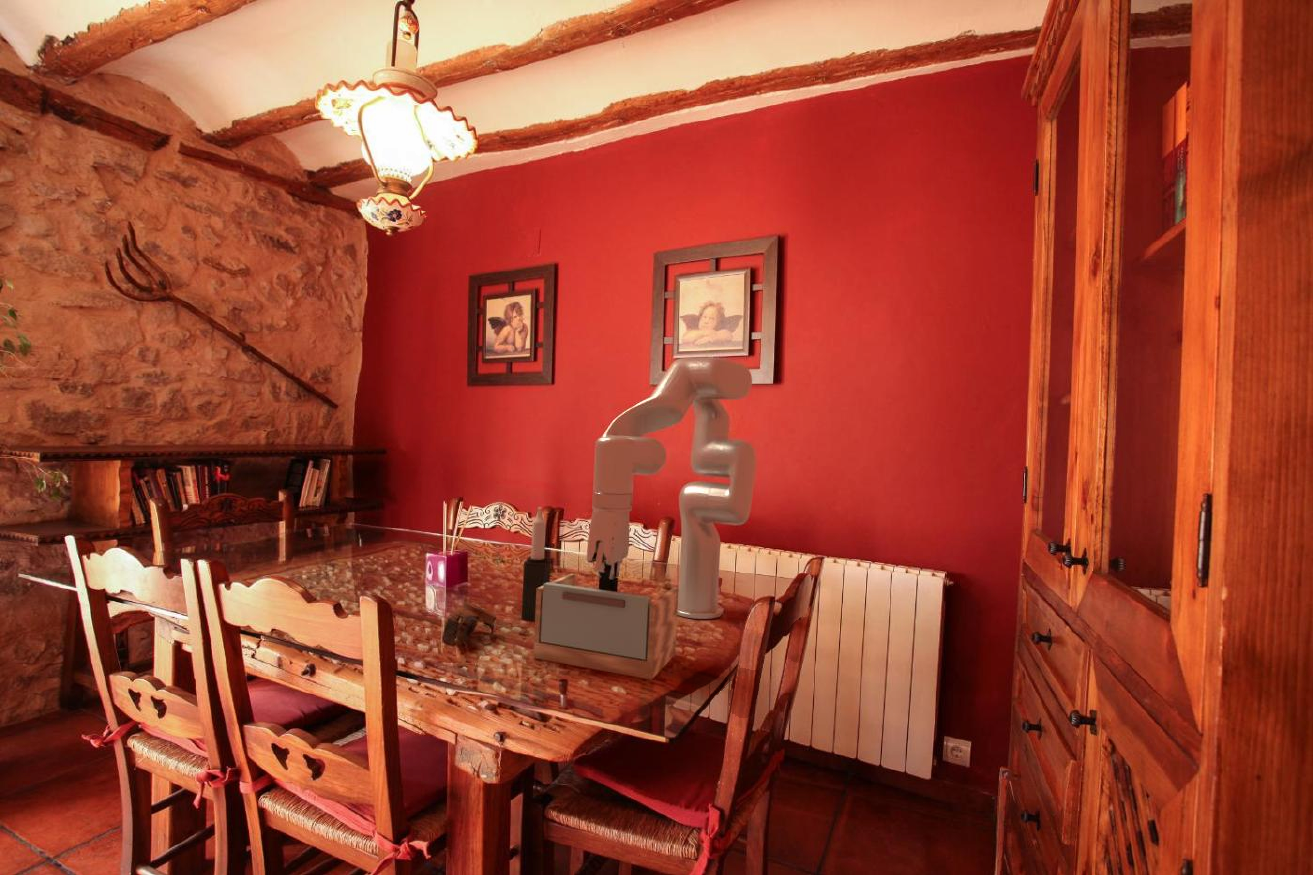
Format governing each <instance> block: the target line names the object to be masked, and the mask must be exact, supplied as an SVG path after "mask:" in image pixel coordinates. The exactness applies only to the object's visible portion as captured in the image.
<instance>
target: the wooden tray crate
mask: <svg viewBox="0 0 1313 875" xmlns="http://www.w3.org/2000/svg"><path fill="white" fill-rule="evenodd" d="M575 578H576V574H575V573H569V574H566V575H564V576H562V577H559V578H557V579H555V580H553V581H550V583H556V584H564V585H571V586H575ZM678 595H679V587H675V586H673V587H672V588H670V589H669V590H668V591H666V592H665V593H663V595H661V596H660V597H658V598H657V599H655V600H654V601H653V602H651V604H650V615H649V635H648V656H647V658H646V659H639V658H633V657H627V656H621V655H616V654H610V653H604V652H598V651H593V650H587V649H581V648H575V647H569V646H564V645H558V644H552V643H546V642H541V626H542V604H543V586H541V587H539V588H537V589H536V610H535V621H534V634H533V636H534V638H533V652H532V654H533V656H532V657H533V659H536V660H542V661H547V662H548V661H549V662H551V663H552V662H554V663H559V664H563V665H564V664H565V665H568V666H575V667H580V668H584V669H585V668H586V669H590V670H597V671H603V672H608V673H613V674H619V675H624V676H630V677H636V678H640V679H645V680H646V679H647V680H653V679H654V678H655V677H656V676H657V675H658V674H659V673H660V671H661V670H663V668H665V666H666V665H667V664H668V663H669V662H670V661H671V659H672V658H673V657H674V656H675V655H676V650H677V649H676V648H677V628H678V615H677V612H678Z"/></svg>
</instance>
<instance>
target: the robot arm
mask: <svg viewBox="0 0 1313 875" xmlns="http://www.w3.org/2000/svg"><path fill="white" fill-rule="evenodd" d="M658 382H659V383H658V384H657V385H656V387H655V389H653V392H651V394H650V396H649V397H648V398H646V399H644V400H642V401H640V402H639V403H637V404H636V405H634V406H632V407H630V408H628V409H627V410H625V411H624V412H622V413H621V414H619V415H618V416H616V418H615V419H613V421H612V422H610V425H608V427H607V429H606V430H605V432H604V433H603V435H602V436H601V437H599V438H597V440H596V441H595V446H594V463H593V464H594V466H593V485H592V490H593V491H592V502H591V503H592V504H591V505H592V506H591V509H592V513H591V517H590V523H589V528H588V529H589V530H588V538H587V550H586V561H587V562H588V563H589V564H592V563H595V564H594V572H597V574H598V589H600V590H607V591H614V592H618V590H619V589H618V586H619V585H618V584H619V578H618V577H620V576H619V575H620V568H621V564H622V563H623V561H624V559H625V558H627V556H628V555H629V549H630V548H629V547H630V512H632V510H633V497H634V496H633V492H634V489H633V488H634V475H638V476H639V475H640V476H651V475H656V474H657V473H659V472H660V471H661V470H662V469H663V468H664V466H665V464H666V462H667V450H666V448H665V446H664V444H663V443H661V441H660V440H658V439H656V438H655V437H653V438H652V437H648V436H646V435H648V434H651V433H654V432H659V431H662V430H666V429H668V428H670V427H674V426H676V425H677V424H679V423H680V422H681V421H682V420H683V419H684V417H685V416H686V414H687V412H688V410H689V408H690V407H691V406H692V409H693V412H694V419H695V420H694V428H693V429H694V432H693V437H692V447H691V454H690V467H691V470H692V472H694V474H697V475H698V476H699V475H700V476H703V477H704V476H705V477H710V478H711V477H713V478H722V479H729V480H730V483H720V482H714V481H713V482H712V481H704V480H703V481H700V480H698V481H691V482H688V483H686V484H685V485H683V487H682V488H681V489H680V492H679V495H678V506H679V508H678V509H679V514H680V524H681V530H680V531H681V532H680V533H681V536H680V538H681V539H680V557H679V558H680V559H679V579H678V588H679V592H678V612H677V616H680V617H683V618H689V619H695V620H710V619H716V618H719V617H721V615H724V610H725V609H724V607H722V606H721V604H718V602H719V600H718V599H719V581H720V580H719V578H720V558H721V537H720V534H719V532H718V530H717V528H716V526H715V523H716V524H722V525H730V526H741V525H743V524H745V523H747V521H748V520H749V517H750V513H751V510H752V503H753V494H754V486H755V476H756V468H757V466H756V465H757V454H756V451H755V448H754V446H753V444H752V443H751V442H749V441H748V440H746V439H742V438H741V439H740V438H730V437H729V435H730V423H731V420H730V415H729V413H728V410H727V409H726V408H725V406H724V404H722V402H721V400H729V401H730V400H731V401H732V400H733V401H734V400H737V401H738V400H739V401H740V400H743V399H745V398H746V397H748V395H749V394H750V392H751V390H752V385H753V377H752V373H751V370H750V369H749V368H748V366H746V364H744V363H742V362H738V361H734V360H730V359H727V358H723V357H715V356H713V357H712V356H710V357H709V356H708V357H682V358H679V359H677V360H675V361H673V362H672V363H671V365H670V366H669V368H667V371H665V373H664V375H663V376H662V378H661V379H660V381H658Z"/></svg>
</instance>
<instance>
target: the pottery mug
mask: <svg viewBox="0 0 1313 875" xmlns="http://www.w3.org/2000/svg"><path fill="white" fill-rule="evenodd" d="M496 620H497V616H495V615H494V614H492V613H491V612H489V611H487V610H485V609H483V608H481V607H479V606H477V605H475V604H474V603H471V602H469V601H464V602H463V605H462V606H460V607H458V608H456V609H455V610H453V612H452V613H450V616H449V617H448V619H447V620H446V623H445V626H444V628H443V634H442V637H441V639H442V640H443V641H444V642H445V643H447V644H449V645H450V646H454V645H455V642H456V641H458V642H459V643H460V644H461V643H469V641H470V639H471V637H472V635H473V633H474V631H475V629H476V627H477V626H478V621H479V622H482V623H483V624H484V625H486V626H487V627H489V628H490V630H491V631H490V634H489V639H490V638H491V639H492V638H493V636H494V634H495V621H496Z"/></svg>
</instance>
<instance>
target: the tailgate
mask: <svg viewBox="0 0 1313 875" xmlns="http://www.w3.org/2000/svg"><path fill="white" fill-rule="evenodd" d="M651 603H652V597H651V596H650V595H641V594H637V593H636V594H635V593H634V594H633V593H628V592H621V591H619V592H618V591H617V592H614V591H607V590H600V589H599V588H591V587H586V586H585V587H583V586H578V585H574V586H571V585H564V584H556V583H549V582H547V583H545V584H543V604H542V626H541V642H546V643H552V644H558V645H564V646H569V647H575V648H581V649H587V650H593V651H598V652H604V653H610V654H616V655H621V656H627V657H633V658H639V659H646V658H647V656H648V635H649V615H650V604H651Z"/></svg>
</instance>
